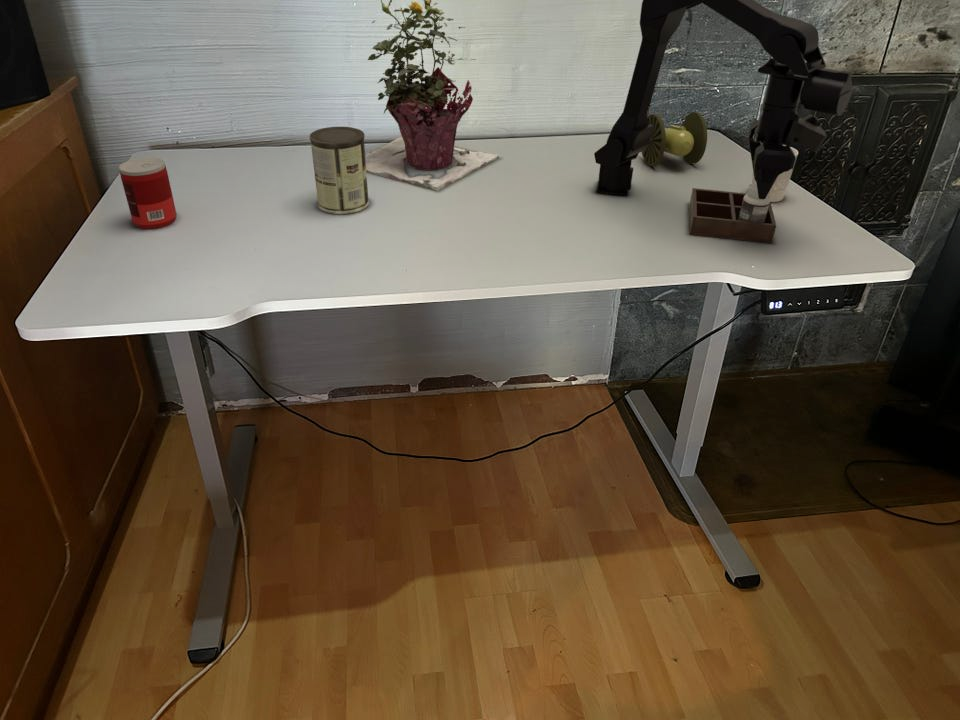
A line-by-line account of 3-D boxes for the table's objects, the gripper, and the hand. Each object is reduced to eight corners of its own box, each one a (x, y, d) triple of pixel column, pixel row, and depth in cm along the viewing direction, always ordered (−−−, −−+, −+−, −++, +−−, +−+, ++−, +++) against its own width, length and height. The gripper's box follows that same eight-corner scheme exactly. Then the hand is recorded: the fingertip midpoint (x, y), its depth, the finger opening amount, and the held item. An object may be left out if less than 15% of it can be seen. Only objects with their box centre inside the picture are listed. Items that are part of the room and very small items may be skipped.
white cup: (788, 205, 154) (801, 158, 148) (748, 201, 155) (760, 154, 149) (783, 191, 160) (795, 145, 154) (745, 187, 161) (756, 142, 156)
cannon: (615, 139, 186) (621, 93, 180) (659, 137, 189) (666, 91, 182) (657, 175, 166) (665, 124, 160) (706, 172, 169) (716, 121, 162)
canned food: (186, 215, 143) (173, 160, 137) (158, 232, 137) (144, 174, 131) (152, 209, 145) (139, 154, 139) (124, 225, 139) (108, 168, 133)
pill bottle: (732, 223, 143) (742, 182, 139) (756, 223, 144) (766, 182, 139) (742, 234, 140) (752, 192, 135) (766, 234, 140) (777, 191, 135)
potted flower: (498, 158, 173) (504, -8, 154) (437, 190, 156) (435, 9, 136) (407, 136, 185) (401, -21, 165) (341, 164, 168) (325, -7, 148)
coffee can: (336, 191, 155) (329, 123, 147) (378, 200, 152) (374, 131, 144) (306, 208, 147) (298, 137, 139) (350, 218, 144) (344, 146, 136)
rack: (689, 234, 141) (693, 216, 139) (689, 204, 153) (692, 187, 151) (771, 243, 138) (776, 225, 136) (764, 212, 150) (769, 195, 148)
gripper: (839, 123, 120) (812, 214, 128) (821, 93, 135) (799, 176, 143) (766, 117, 121) (745, 207, 130) (757, 88, 137) (739, 170, 145)
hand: (759, 189), depth 137 cm, fingers open, 9 cm apart
